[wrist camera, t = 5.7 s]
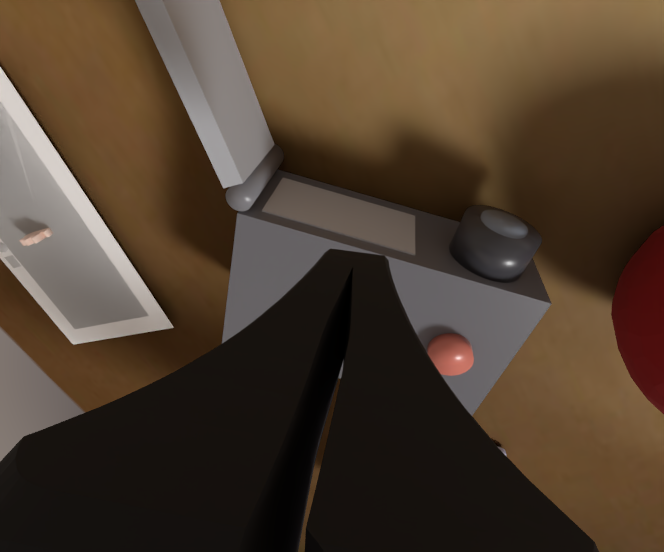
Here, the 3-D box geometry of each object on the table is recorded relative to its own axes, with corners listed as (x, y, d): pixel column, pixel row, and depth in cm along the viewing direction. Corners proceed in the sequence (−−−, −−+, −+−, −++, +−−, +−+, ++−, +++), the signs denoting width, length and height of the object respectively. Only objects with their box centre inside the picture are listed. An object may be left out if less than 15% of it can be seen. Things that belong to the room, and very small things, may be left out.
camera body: (462, 346, 24) (473, 426, 20) (252, 286, 24) (216, 353, 19) (545, 207, 19) (583, 276, 14) (277, 129, 19) (236, 175, 14)
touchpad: (14, 54, 19) (-27, 63, 17) (181, 315, 26) (165, 340, 25) (-100, 107, 21) (-146, 119, 20) (83, 333, 29) (62, 356, 27)
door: (287, 162, 19) (256, 208, 16) (255, 171, 20) (218, 217, 16) (211, -38, 15) (147, -41, 12) (174, -22, 16) (101, -20, 12)
